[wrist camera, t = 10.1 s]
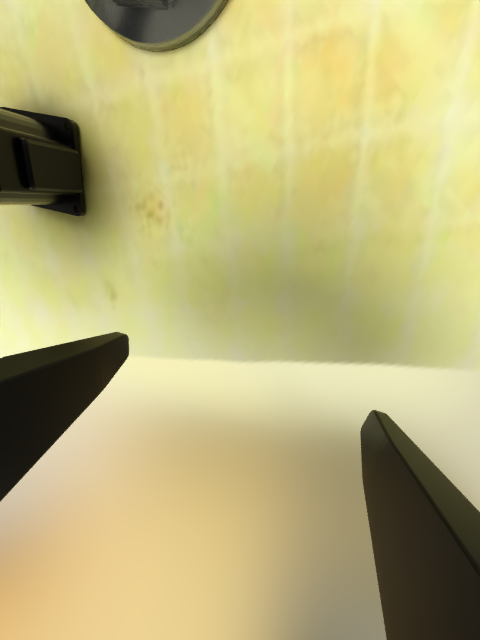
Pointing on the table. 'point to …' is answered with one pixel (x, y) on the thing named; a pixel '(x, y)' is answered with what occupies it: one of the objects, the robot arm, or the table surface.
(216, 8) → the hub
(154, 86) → the table surface
